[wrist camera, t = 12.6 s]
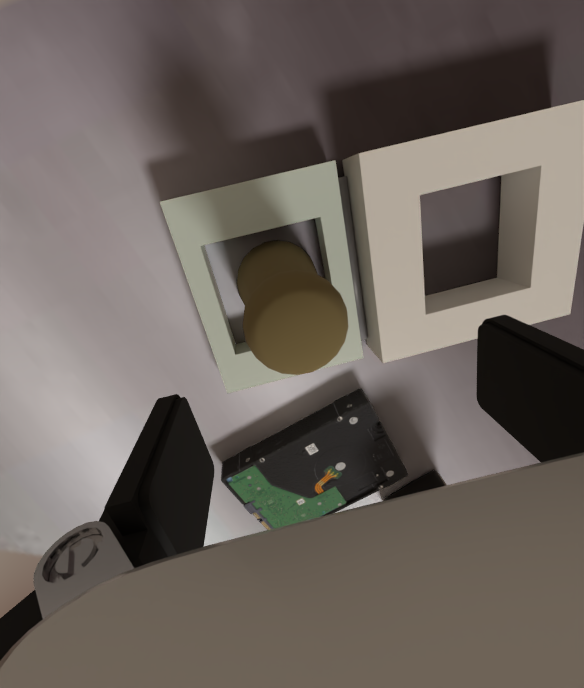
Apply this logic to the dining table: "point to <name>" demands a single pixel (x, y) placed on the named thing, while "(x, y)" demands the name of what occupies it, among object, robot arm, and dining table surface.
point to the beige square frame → (514, 228)
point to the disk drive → (315, 465)
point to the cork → (289, 309)
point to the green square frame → (250, 217)
